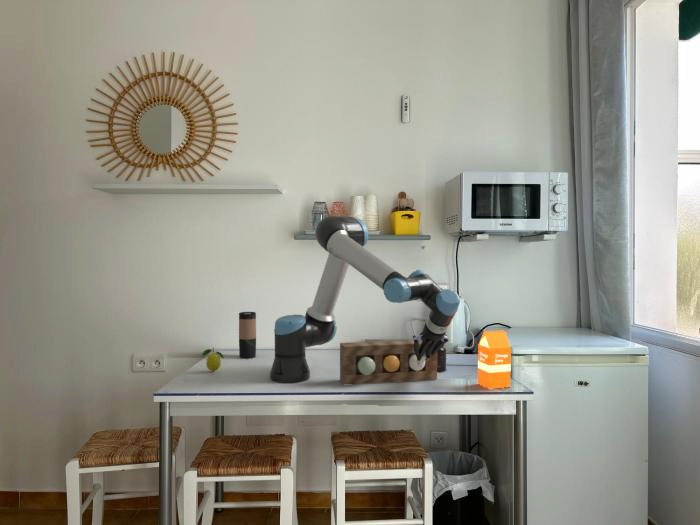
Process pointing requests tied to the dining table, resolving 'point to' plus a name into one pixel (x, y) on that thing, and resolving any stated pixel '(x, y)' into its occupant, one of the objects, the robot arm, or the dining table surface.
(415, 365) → the button ivory
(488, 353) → the orange juice
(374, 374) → the control box
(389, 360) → the button orange
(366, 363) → the button sage
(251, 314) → the travel mug
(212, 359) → the lemon
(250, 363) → the dining table surface
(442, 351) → the supplement bottle
